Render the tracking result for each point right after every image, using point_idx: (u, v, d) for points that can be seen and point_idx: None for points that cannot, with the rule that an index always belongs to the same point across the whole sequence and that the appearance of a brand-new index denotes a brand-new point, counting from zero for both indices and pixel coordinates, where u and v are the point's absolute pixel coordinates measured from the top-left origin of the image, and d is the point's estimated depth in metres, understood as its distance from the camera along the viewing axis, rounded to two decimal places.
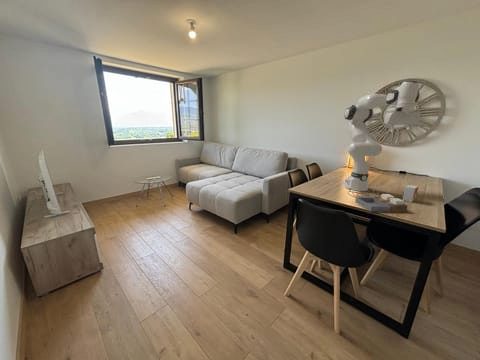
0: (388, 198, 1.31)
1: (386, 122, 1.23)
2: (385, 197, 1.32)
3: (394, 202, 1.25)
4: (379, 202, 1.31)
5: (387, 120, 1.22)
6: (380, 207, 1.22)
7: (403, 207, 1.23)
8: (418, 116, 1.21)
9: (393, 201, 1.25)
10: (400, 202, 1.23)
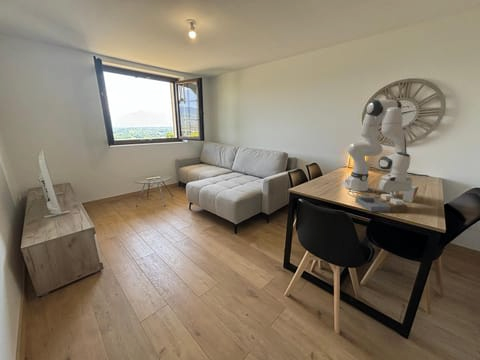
0: (388, 198, 1.31)
1: (380, 188, 1.31)
2: (385, 197, 1.32)
3: (394, 202, 1.25)
4: (379, 202, 1.31)
5: (381, 187, 1.31)
6: (380, 207, 1.22)
7: (403, 207, 1.23)
8: (410, 184, 1.30)
9: (393, 201, 1.25)
10: (400, 202, 1.23)
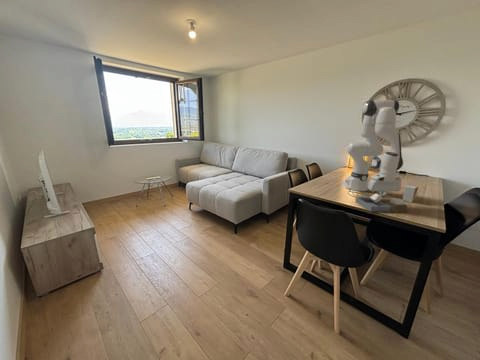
0: (377, 200, 1.31)
1: (369, 188, 1.31)
2: (374, 200, 1.32)
3: (394, 202, 1.25)
4: (379, 202, 1.31)
5: (370, 187, 1.30)
6: (380, 207, 1.22)
7: (403, 207, 1.23)
8: (399, 184, 1.29)
9: (393, 201, 1.25)
10: (400, 202, 1.23)
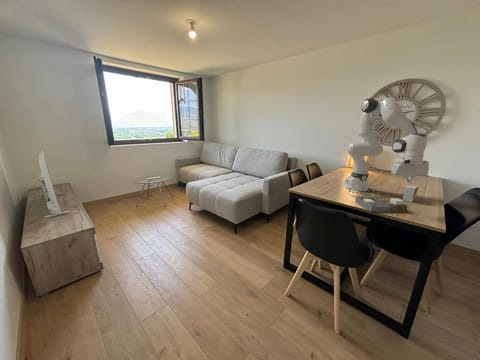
0: (372, 203, 1.31)
1: (394, 173, 1.22)
2: None
3: (394, 202, 1.25)
4: (379, 202, 1.31)
5: (395, 171, 1.21)
6: (380, 207, 1.22)
7: (403, 207, 1.23)
8: (426, 167, 1.19)
9: (393, 201, 1.25)
10: (400, 202, 1.23)
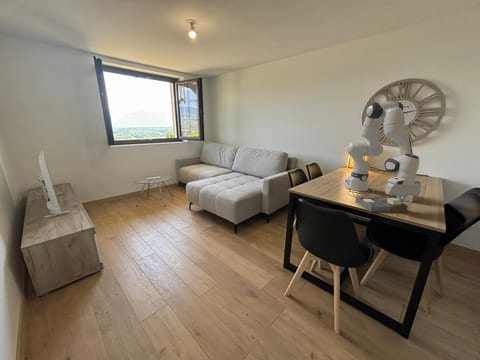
0: (372, 203, 1.31)
1: (387, 192, 1.24)
2: None
3: (391, 202, 1.24)
4: (379, 202, 1.31)
5: (388, 191, 1.23)
6: (380, 207, 1.22)
7: (403, 207, 1.23)
8: (419, 187, 1.22)
9: (390, 201, 1.25)
10: (397, 202, 1.23)
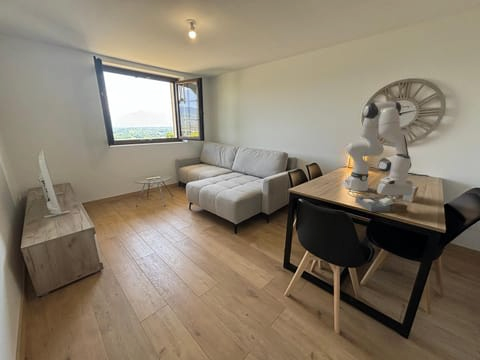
0: (372, 203, 1.31)
1: (379, 192, 1.23)
2: None
3: (383, 204, 1.25)
4: None
5: (380, 191, 1.23)
6: (380, 207, 1.22)
7: (403, 207, 1.23)
8: (410, 187, 1.22)
9: (382, 203, 1.25)
10: (389, 202, 1.23)
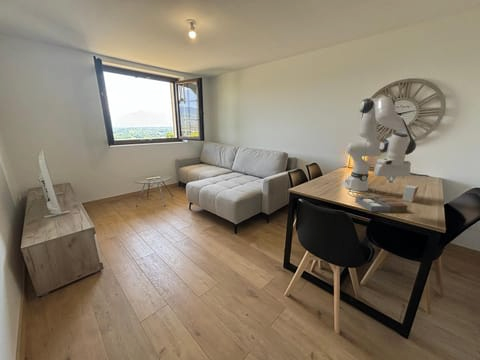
0: None
1: (375, 173, 1.20)
2: None
3: None
4: (379, 202, 1.31)
5: (376, 171, 1.19)
6: (380, 207, 1.22)
7: (403, 207, 1.23)
8: (408, 168, 1.18)
9: None
10: None
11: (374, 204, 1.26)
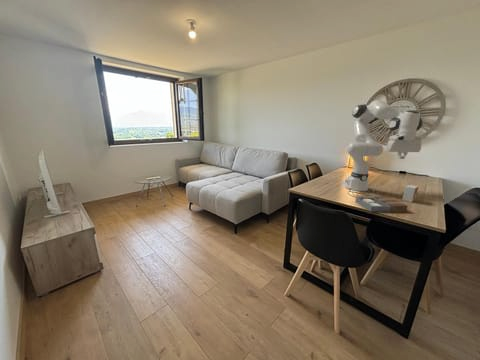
0: None
1: (388, 149, 1.26)
2: None
3: None
4: (379, 202, 1.31)
5: (389, 147, 1.26)
6: (380, 207, 1.22)
7: (403, 207, 1.23)
8: (419, 144, 1.25)
9: None
10: None
11: (374, 204, 1.26)
